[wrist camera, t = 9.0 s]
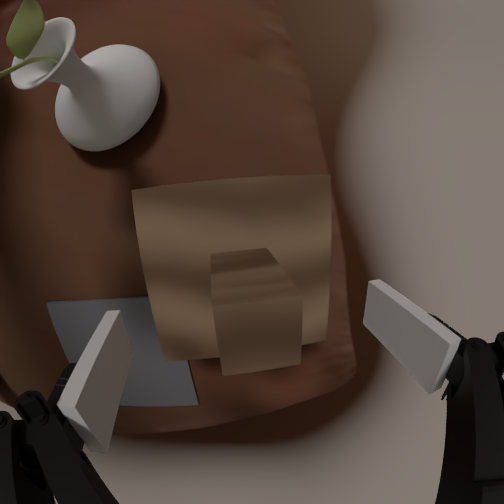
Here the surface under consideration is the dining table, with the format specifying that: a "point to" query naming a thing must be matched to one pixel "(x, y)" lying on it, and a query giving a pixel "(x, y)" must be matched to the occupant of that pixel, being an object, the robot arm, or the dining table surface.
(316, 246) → the walnut lid
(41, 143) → the dining table surface
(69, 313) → the rubber mat
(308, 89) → the dining table surface
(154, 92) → the flower in vase
